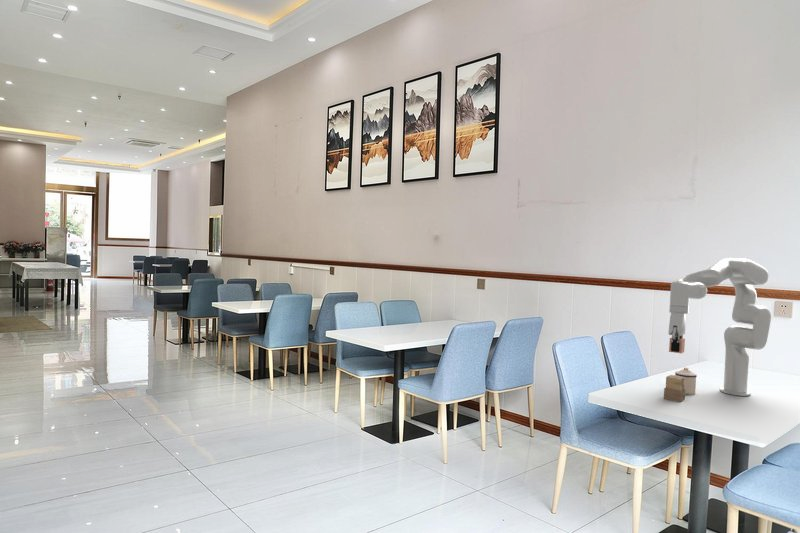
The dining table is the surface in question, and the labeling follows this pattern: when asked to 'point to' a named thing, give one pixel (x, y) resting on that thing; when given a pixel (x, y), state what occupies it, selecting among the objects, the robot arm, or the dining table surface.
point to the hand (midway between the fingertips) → (676, 350)
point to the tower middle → (675, 382)
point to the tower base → (674, 395)
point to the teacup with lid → (688, 380)
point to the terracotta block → (681, 347)
